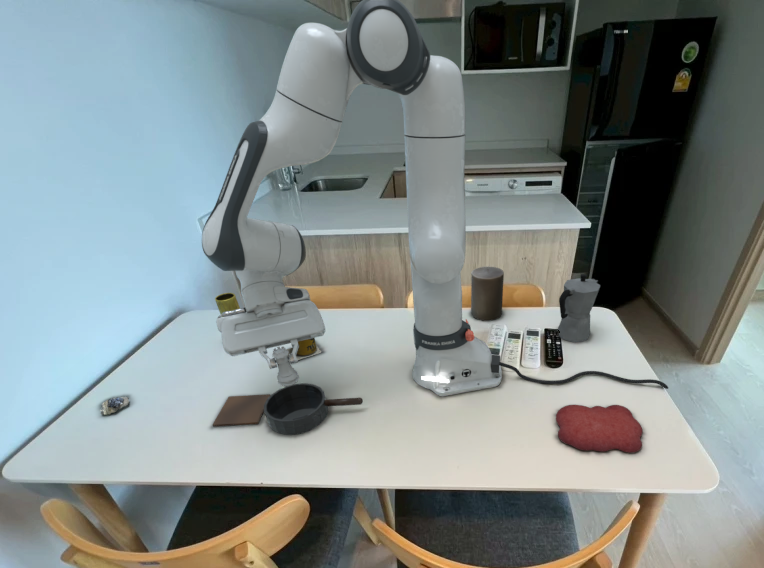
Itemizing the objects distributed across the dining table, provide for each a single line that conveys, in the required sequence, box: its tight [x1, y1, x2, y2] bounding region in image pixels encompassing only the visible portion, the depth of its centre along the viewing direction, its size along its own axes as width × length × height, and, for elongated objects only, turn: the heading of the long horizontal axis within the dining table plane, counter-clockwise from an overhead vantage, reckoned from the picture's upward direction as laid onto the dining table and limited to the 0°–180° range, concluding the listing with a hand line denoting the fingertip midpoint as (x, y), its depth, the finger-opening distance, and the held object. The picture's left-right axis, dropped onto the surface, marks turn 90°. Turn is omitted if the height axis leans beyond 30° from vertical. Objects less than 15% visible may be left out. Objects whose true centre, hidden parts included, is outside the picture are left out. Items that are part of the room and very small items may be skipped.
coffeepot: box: [557, 273, 601, 343], centre depth 112 cm, size 15×9×18 cm, turn 129°
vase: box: [214, 292, 241, 317], centre depth 118 cm, size 6×6×14 cm
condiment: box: [285, 337, 322, 361], centre depth 112 cm, size 7×8×12 cm
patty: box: [555, 404, 643, 454], centre depth 86 cm, size 18×14×2 cm
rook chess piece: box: [271, 346, 300, 387], centre depth 86 cm, size 4×4×8 cm
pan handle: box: [325, 397, 364, 407], centre depth 92 cm, size 9×2×2 cm, turn 92°
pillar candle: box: [470, 265, 505, 322], centre depth 126 cm, size 10×10×15 cm
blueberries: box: [99, 396, 130, 416], centre depth 98 cm, size 7×8×2 cm
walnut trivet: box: [212, 393, 272, 428], centre depth 96 cm, size 10×10×1 cm
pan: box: [263, 382, 329, 436], centre depth 93 cm, size 13×13×4 cm
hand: (284, 365), depth 85 cm, fingers closed on rook chess piece, 3 cm apart
